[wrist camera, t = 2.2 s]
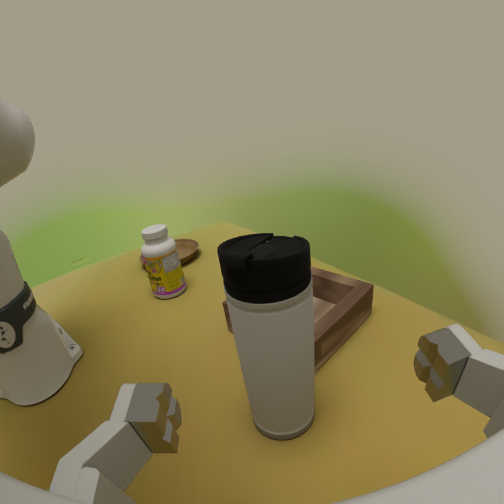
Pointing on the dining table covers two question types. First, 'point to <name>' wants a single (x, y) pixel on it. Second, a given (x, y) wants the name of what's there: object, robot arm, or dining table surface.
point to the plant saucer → (183, 250)
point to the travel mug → (273, 327)
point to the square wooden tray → (333, 311)
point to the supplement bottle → (162, 262)
